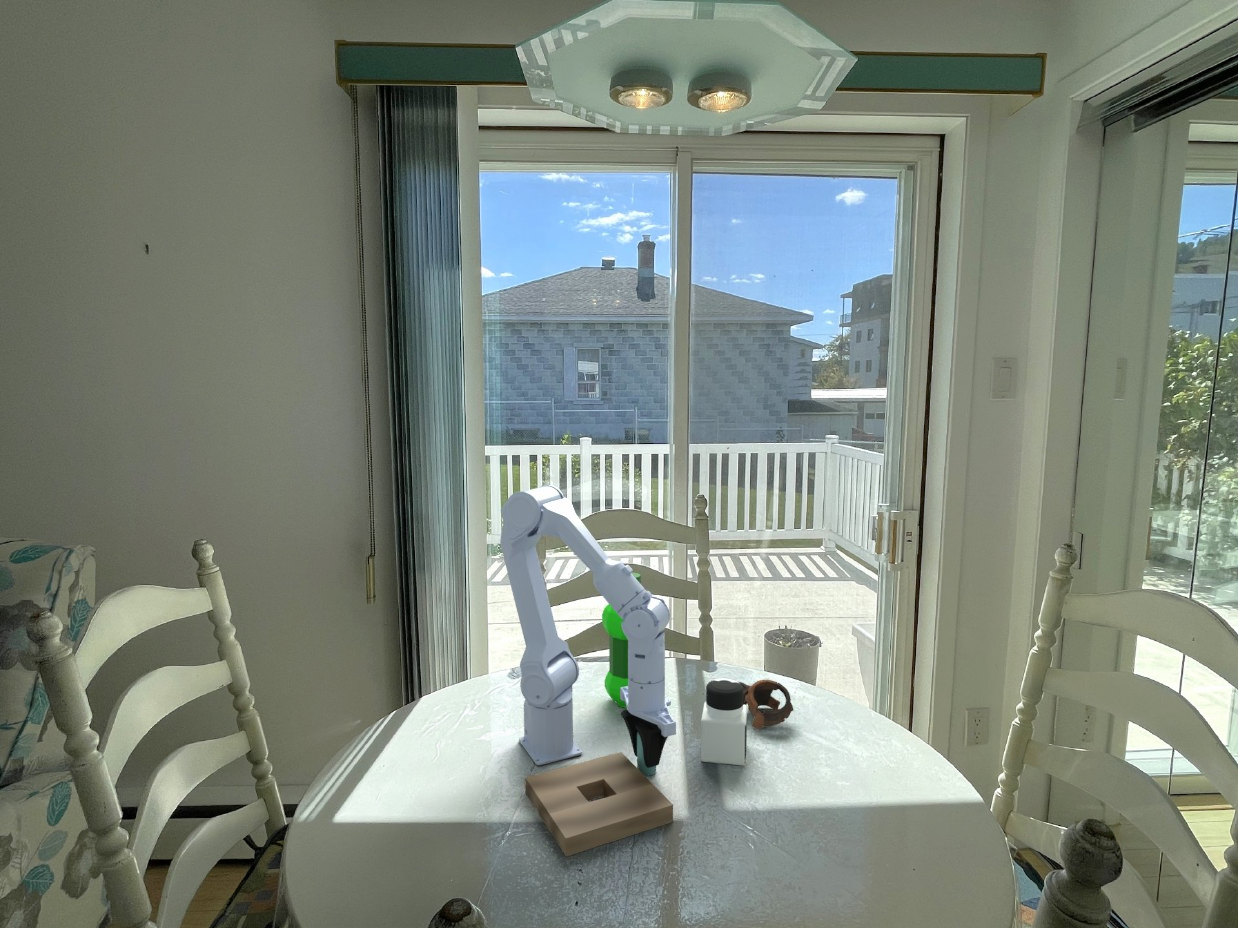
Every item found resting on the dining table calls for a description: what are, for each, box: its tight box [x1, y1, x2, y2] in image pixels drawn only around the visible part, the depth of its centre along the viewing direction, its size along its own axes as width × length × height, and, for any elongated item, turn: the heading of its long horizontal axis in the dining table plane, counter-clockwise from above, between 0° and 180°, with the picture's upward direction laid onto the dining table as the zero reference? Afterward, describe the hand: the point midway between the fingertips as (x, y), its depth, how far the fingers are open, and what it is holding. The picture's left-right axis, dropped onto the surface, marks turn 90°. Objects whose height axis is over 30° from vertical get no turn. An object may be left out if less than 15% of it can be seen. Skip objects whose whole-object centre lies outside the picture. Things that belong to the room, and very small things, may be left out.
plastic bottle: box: [601, 572, 642, 709], centre depth 132 cm, size 10×10×25 cm
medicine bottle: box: [700, 678, 748, 767], centre depth 113 cm, size 7×7×12 cm
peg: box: [636, 733, 657, 777], centre depth 108 cm, size 3×3×6 cm
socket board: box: [524, 751, 674, 857], centre depth 99 cm, size 16×16×2 cm
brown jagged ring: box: [737, 679, 795, 731], centre depth 126 cm, size 12×10×8 cm
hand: (646, 759), depth 109 cm, fingers closed on peg, 3 cm apart
